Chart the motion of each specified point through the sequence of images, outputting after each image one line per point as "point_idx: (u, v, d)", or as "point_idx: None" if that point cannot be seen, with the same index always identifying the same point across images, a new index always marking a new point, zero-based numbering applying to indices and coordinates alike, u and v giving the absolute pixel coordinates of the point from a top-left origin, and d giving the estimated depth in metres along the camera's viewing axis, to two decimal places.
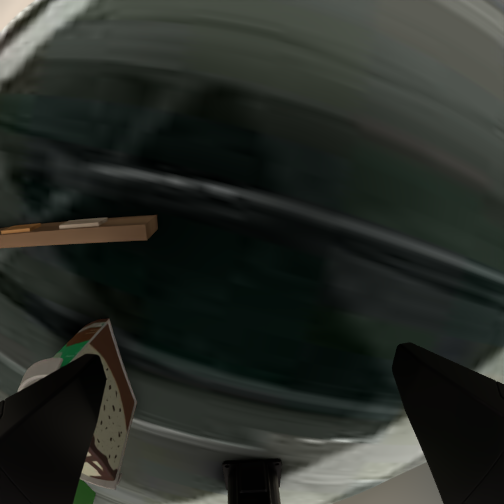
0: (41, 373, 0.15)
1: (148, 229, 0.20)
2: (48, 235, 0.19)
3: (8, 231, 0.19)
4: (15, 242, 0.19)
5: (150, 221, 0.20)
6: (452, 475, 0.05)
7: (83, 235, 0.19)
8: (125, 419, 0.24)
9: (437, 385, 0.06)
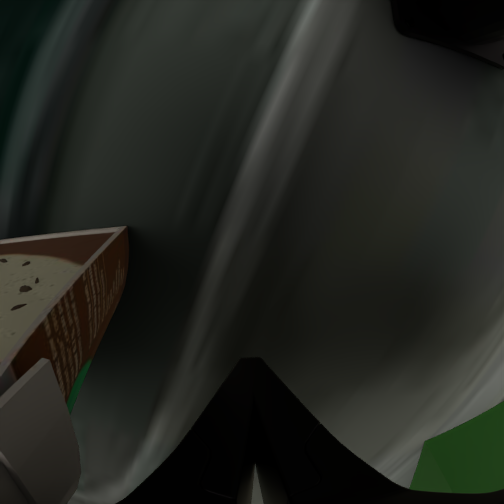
0: None
1: None
2: None
3: None
4: None
5: None
6: None
7: None
8: (66, 259, 0.08)
9: None
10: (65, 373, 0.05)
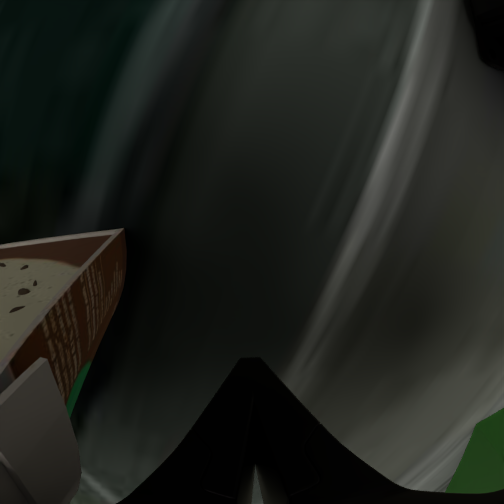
0: None
1: None
2: None
3: None
4: None
5: None
6: None
7: None
8: (64, 261, 0.08)
9: None
10: (64, 374, 0.05)
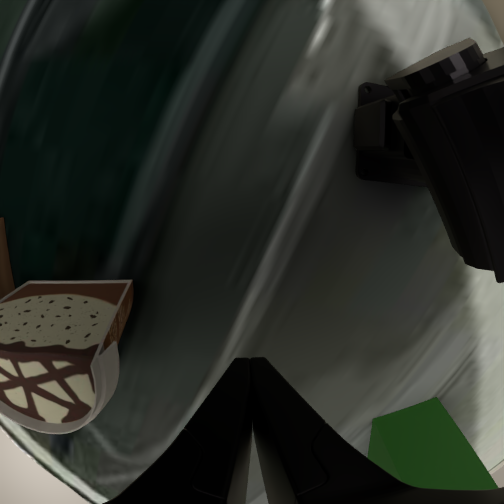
0: None
1: None
2: None
3: None
4: None
5: None
6: None
7: None
8: (106, 300, 0.18)
9: (258, 411, 0.06)
10: None
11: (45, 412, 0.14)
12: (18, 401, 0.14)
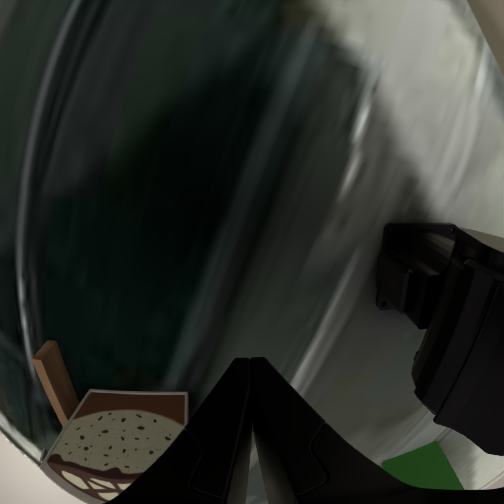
0: None
1: (38, 355, 0.21)
2: (63, 423, 0.22)
3: None
4: None
5: (39, 350, 0.21)
6: None
7: (54, 401, 0.21)
8: (173, 419, 0.22)
9: (258, 411, 0.06)
10: None
11: None
12: (112, 498, 0.17)
